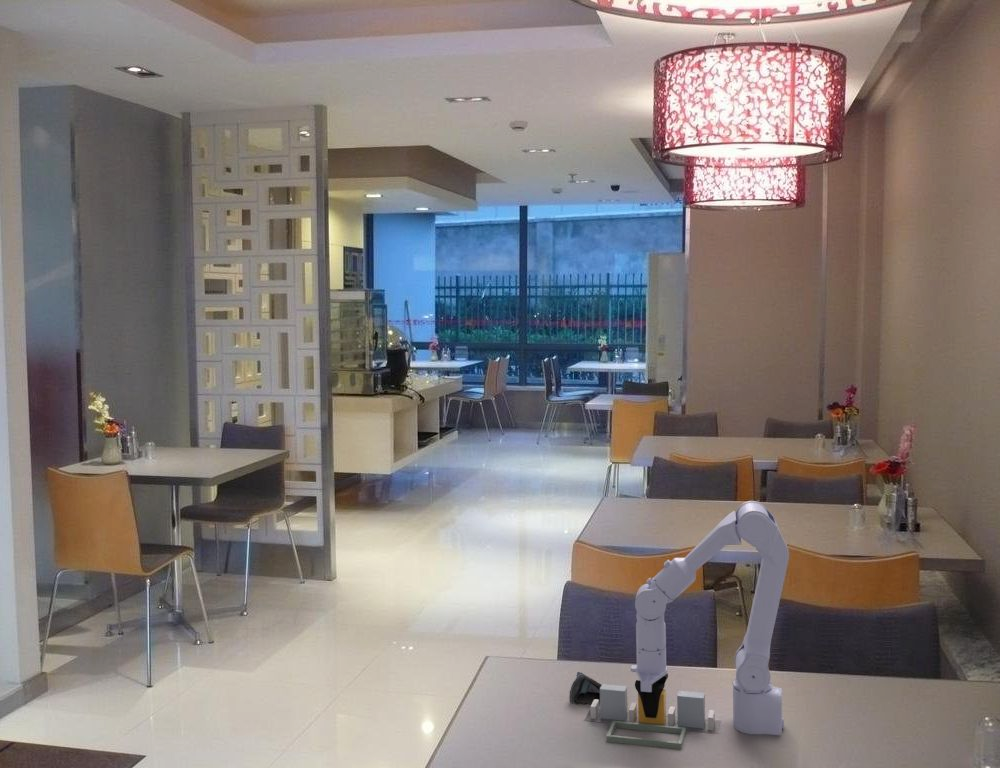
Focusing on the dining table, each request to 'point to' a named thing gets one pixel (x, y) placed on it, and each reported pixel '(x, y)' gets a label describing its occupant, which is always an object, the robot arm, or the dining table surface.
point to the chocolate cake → (583, 687)
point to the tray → (643, 741)
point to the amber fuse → (660, 715)
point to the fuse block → (671, 720)
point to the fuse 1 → (613, 702)
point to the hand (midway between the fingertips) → (652, 713)
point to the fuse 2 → (691, 709)
